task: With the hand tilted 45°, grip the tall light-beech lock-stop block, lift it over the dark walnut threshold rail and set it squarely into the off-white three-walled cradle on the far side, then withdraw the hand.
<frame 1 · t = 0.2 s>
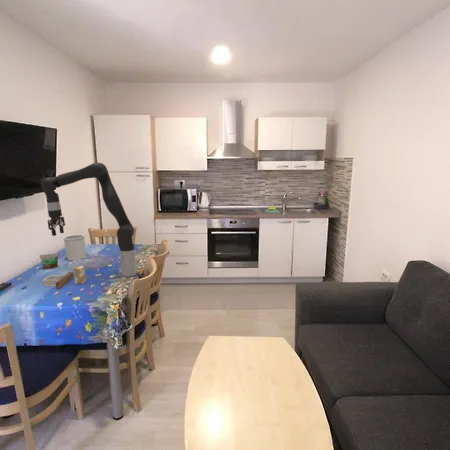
hand: (58, 234, 205), 28 cm above the table, tool pointing down, fingers open, 8 cm apart
threshold rail: (65, 282, 198), on the table
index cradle: (53, 283, 198), on the table
utensil holder: (76, 258, 250), on the table
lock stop: (80, 282, 198), on the table
food container: (49, 268, 228), on the table
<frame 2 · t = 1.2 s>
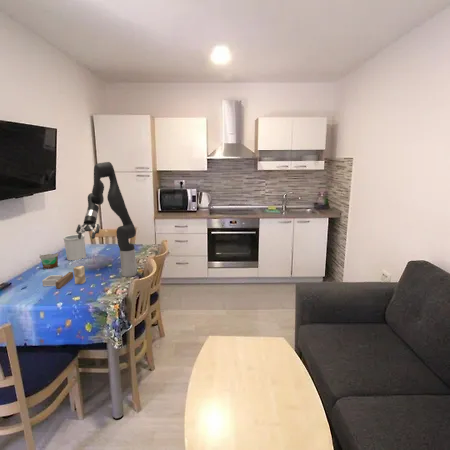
hand: (85, 238, 208), 25 cm above the table, tool tilted 45°, fingers open, 8 cm apart
nothing on the table moved.
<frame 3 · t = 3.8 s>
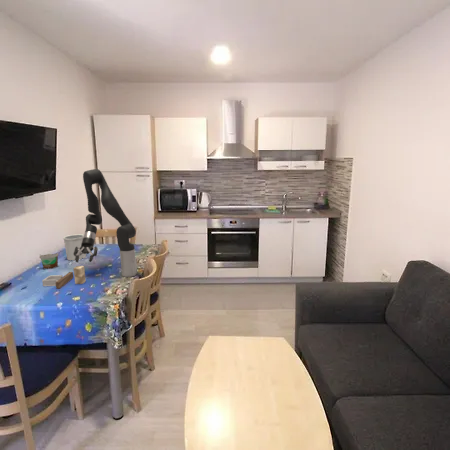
hand: (83, 261, 203), 11 cm above the table, tool tilted 45°, fingers open, 8 cm apart
nothing on the table moved.
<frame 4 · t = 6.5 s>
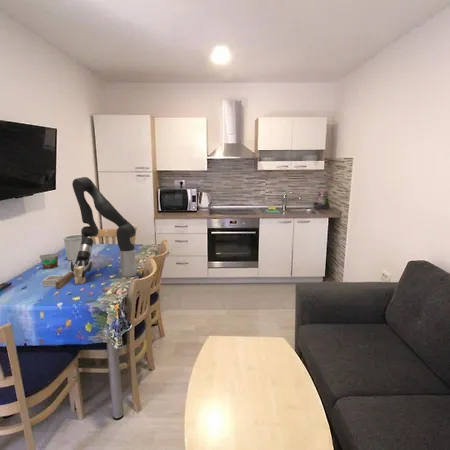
hand: (78, 277, 196), 4 cm above the table, tool tilted 45°, fingers closed on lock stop, 4 cm apart
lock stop: (80, 282, 198), on the table, touching gripper
everything else where it was.
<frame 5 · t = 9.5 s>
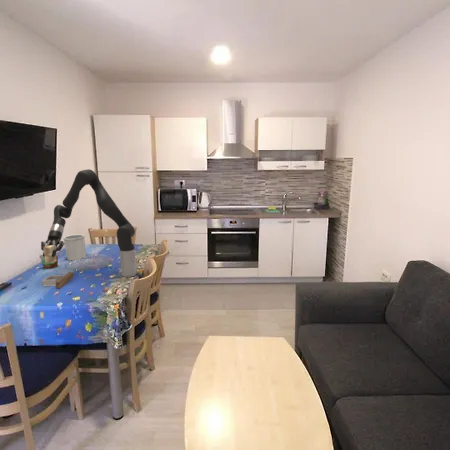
hand: (48, 256, 193), 18 cm above the table, tool tilted 45°, fingers closed on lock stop, 4 cm apart
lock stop: (51, 262, 196), point 14 cm above the table, touching gripper
everything else where it was.
when the fingers open (6 cm above the table, at t = 12.5 s): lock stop drops 1 cm, resting on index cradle.
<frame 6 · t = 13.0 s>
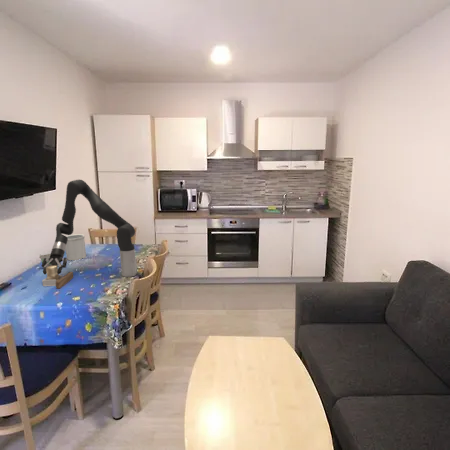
hand: (51, 273, 196), 7 cm above the table, tool tilted 45°, fingers open, 8 cm apart
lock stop: (53, 282, 198), point 1 cm above the table, touching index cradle
everything else where it was.
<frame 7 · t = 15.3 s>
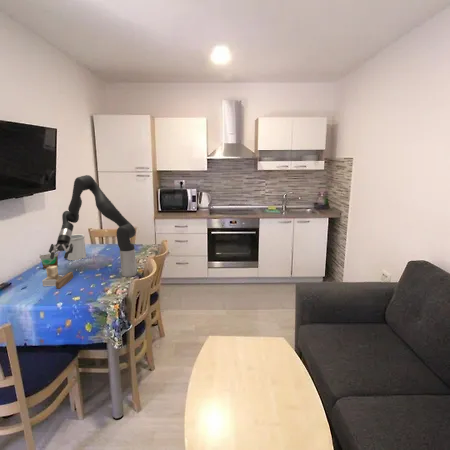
hand: (58, 258, 204), 13 cm above the table, tool tilted 45°, fingers open, 8 cm apart
nothing on the table moved.
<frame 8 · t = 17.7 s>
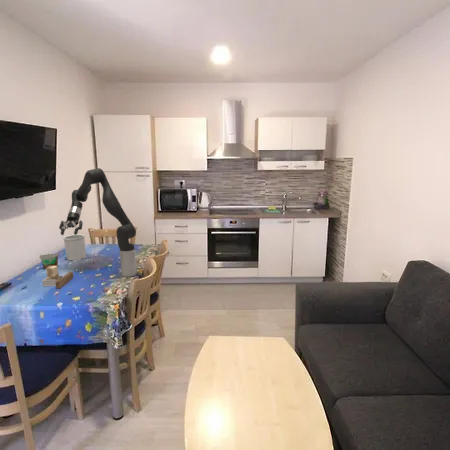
hand: (68, 234, 211), 27 cm above the table, tool tilted 45°, fingers open, 8 cm apart
nothing on the table moved.
at the end: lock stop 0.1 cm from the target spot, point 0.6 cm above the table; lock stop tilted 0°; the gripper is holding nothing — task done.
